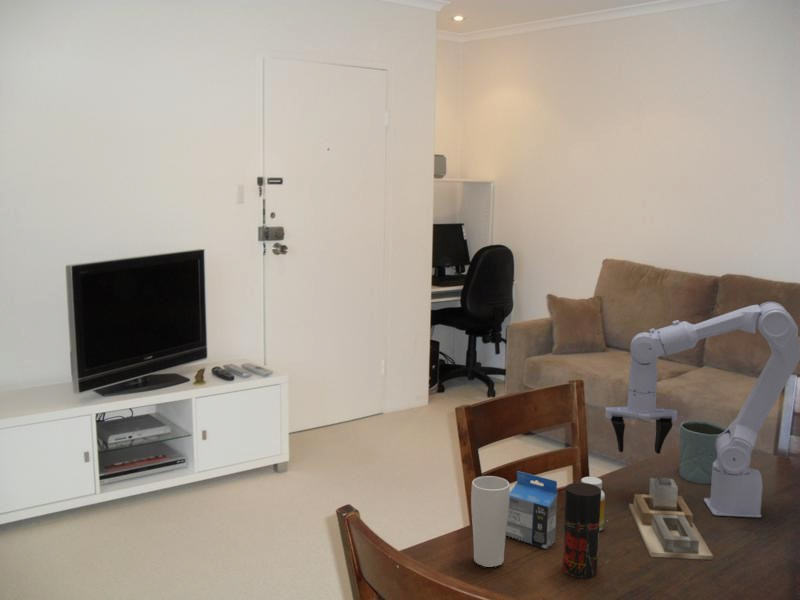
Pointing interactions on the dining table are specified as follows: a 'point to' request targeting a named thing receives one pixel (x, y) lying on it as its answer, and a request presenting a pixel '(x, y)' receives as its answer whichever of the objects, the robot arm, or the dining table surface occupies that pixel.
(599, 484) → the supplement bottle
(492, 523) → the drinking glass
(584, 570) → the deodorant
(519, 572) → the dining table surface
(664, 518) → the socket board
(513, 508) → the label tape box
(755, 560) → the dining table surface
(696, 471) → the green plant pot
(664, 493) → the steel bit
